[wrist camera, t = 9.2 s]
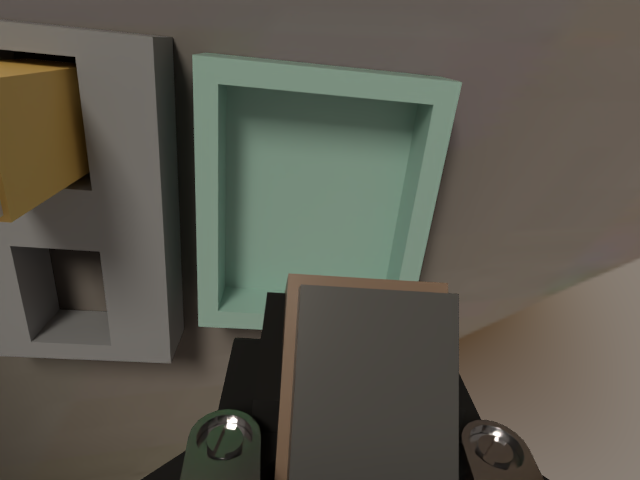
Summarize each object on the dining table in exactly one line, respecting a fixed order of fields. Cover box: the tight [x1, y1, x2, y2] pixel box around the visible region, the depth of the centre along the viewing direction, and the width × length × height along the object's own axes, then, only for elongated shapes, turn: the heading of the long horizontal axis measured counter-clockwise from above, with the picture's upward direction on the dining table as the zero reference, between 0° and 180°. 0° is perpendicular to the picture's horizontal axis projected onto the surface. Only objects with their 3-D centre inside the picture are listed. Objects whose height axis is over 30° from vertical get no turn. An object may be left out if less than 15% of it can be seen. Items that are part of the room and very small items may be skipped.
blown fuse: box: [274, 273, 459, 480], centre depth 11 cm, size 4×3×9 cm
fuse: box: [0, 58, 90, 223], centre depth 17 cm, size 4×3×9 cm, turn 174°
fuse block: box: [0, 19, 184, 363], centre depth 21 cm, size 16×10×3 cm, turn 174°
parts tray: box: [192, 53, 462, 330], centre depth 22 cm, size 13×11×3 cm
